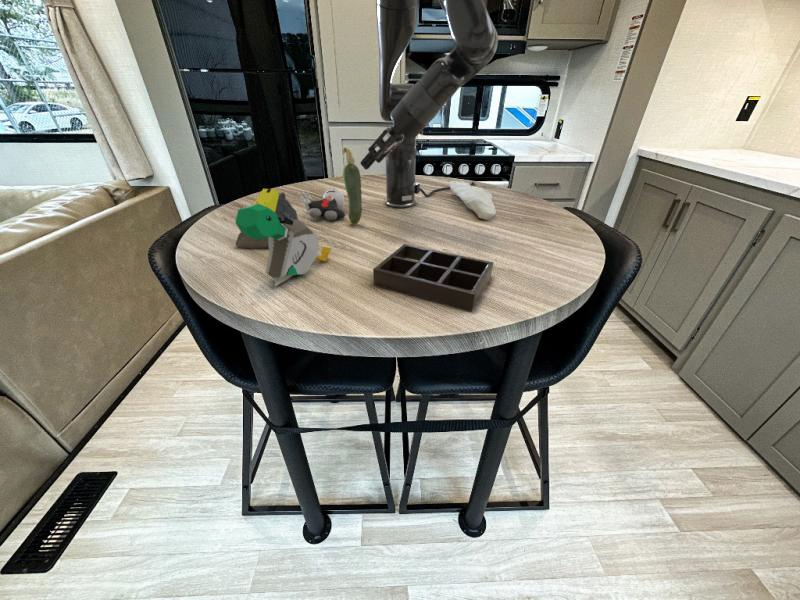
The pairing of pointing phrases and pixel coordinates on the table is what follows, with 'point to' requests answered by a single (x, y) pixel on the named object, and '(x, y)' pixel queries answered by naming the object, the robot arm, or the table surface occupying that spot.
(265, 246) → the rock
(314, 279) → the table surface
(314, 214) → the toy
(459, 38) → the robot arm
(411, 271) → the brown compartment tray
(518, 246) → the table surface
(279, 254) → the toy
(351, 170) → the vegetable
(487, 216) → the rock
